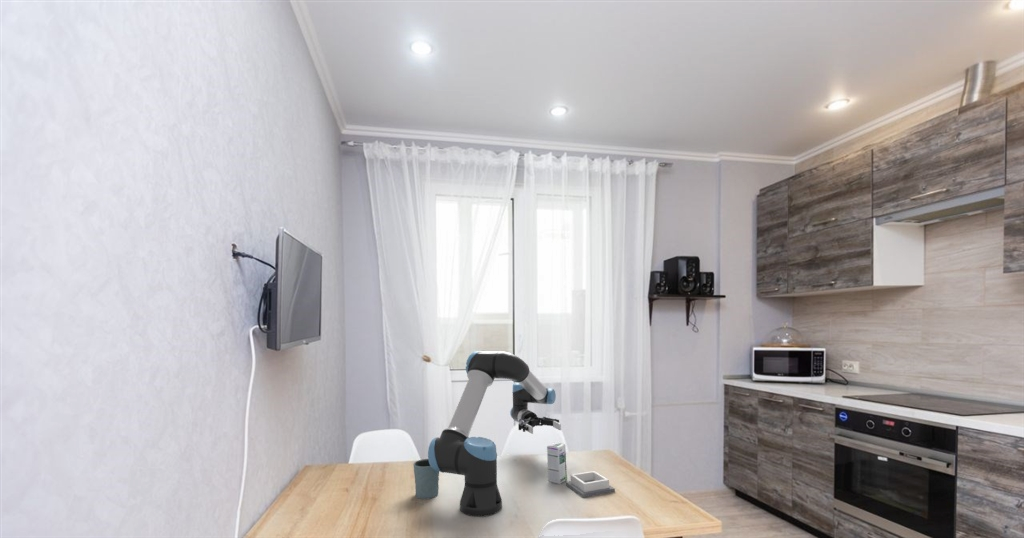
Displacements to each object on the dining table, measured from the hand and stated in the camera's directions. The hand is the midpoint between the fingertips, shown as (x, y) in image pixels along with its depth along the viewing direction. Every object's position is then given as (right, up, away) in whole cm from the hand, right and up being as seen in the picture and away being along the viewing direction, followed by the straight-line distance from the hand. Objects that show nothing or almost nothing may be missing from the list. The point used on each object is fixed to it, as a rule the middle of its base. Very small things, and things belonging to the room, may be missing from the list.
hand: (546, 428), depth 197 cm
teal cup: (-48, -17, -23) cm, 56 cm away
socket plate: (+16, -16, -20) cm, 30 cm away
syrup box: (+4, -18, -11) cm, 21 cm away
